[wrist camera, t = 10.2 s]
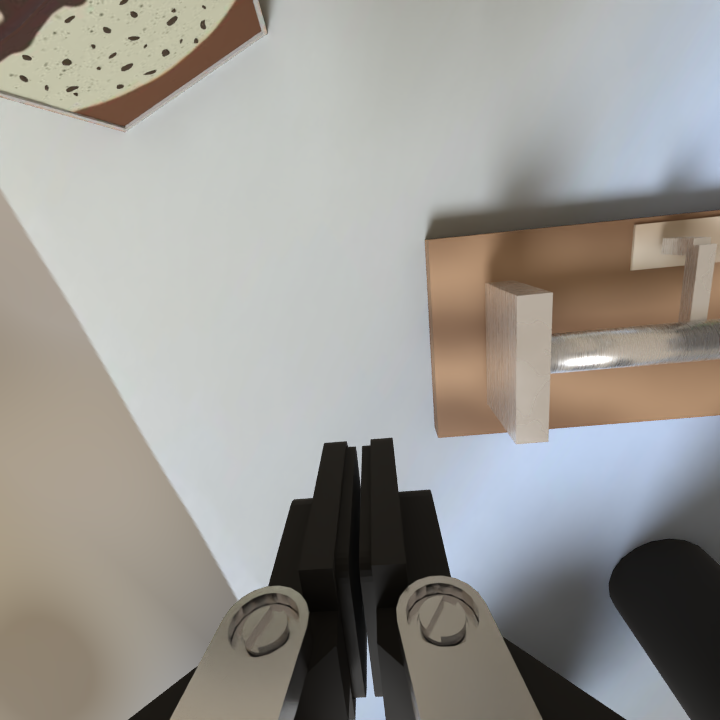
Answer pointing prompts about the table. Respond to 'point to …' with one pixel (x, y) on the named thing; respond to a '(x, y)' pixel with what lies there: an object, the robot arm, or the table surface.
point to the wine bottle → (675, 618)
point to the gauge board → (570, 318)
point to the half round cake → (117, 52)
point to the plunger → (586, 341)
